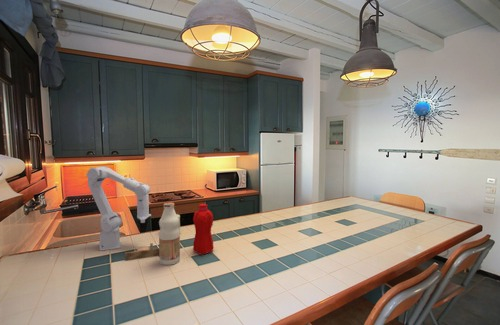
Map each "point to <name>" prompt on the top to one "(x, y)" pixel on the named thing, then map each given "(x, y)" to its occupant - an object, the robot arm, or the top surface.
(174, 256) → the fruit juice
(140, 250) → the tan rounded pebble
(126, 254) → the mortise joint
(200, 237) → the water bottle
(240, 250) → the top surface
